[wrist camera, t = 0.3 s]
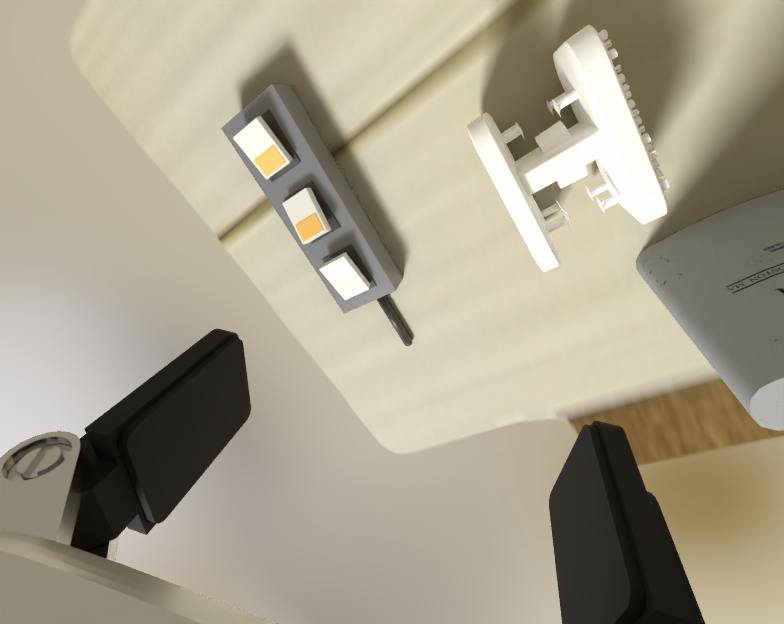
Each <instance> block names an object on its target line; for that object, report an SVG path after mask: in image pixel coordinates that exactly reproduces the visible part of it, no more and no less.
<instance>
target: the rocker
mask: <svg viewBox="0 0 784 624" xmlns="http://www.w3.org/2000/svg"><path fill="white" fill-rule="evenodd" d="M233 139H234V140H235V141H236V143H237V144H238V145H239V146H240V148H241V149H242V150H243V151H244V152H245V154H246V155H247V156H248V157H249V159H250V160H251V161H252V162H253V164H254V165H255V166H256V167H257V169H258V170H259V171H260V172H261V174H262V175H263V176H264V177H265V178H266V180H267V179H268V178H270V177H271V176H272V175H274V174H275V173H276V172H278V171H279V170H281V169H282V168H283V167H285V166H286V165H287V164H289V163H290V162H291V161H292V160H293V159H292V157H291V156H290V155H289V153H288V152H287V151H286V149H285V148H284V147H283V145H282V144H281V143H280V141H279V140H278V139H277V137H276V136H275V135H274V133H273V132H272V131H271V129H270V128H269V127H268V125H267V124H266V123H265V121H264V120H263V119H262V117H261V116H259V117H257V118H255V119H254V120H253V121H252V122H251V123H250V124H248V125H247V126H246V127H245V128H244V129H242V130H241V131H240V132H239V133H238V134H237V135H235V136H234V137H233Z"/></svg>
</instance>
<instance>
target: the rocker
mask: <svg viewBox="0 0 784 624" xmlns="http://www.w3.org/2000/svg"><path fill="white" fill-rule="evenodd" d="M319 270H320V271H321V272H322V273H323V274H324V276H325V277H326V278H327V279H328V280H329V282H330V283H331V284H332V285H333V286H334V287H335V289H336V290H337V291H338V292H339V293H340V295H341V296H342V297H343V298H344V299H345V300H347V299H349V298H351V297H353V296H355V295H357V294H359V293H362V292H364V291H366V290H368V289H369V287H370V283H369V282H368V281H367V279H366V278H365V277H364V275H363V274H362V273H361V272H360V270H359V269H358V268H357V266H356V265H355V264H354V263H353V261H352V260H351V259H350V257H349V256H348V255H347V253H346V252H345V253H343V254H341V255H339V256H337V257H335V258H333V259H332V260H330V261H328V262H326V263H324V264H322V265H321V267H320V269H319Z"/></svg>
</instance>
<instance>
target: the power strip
mask: <svg viewBox="0 0 784 624" xmlns="http://www.w3.org/2000/svg"><path fill="white" fill-rule="evenodd" d="M259 116H261V117H262V119H263V120H264V121H265V123H266V124H267V125H268V127H269V128H270V129H271V131H272V132H273V133H274V135H275V136H276V137H277V139H278V140H279V141H280V143H281V144H282V145H283V147H284V148H285V149H286V151H287V152H288V153H289V155H290V156H291V157H292V159H293V160H292V161H291V162H290V163H289V164H287V165H286V166H285V167H283V168H282V169H281V170H279V171H278V172H276V173H275V174H274V175H272V176H271V177H270V178H268V179H267V180H266V178H265V177H264V176H263V175H262V174H261V172H260V171H259V170H258V169H257V167H256V166H255V165H254V164H253V162H252V161H251V160H250V159H249V157H248V156H247V155H246V154H245V152H244V151H243V150H242V149H241V148H240V146H239V145H238V144H237V143H236V141H235V140H234V139H233V137H234V136H235V135H237V134H238V133H239V132H240V131H241V130H242V129H244V128H245V127H246V126H247V125H248V124H250V123H251V122H252V121H253V120H254V119H255V118H257V117H259ZM221 129H222V130H223V132H224V133H225V135H226V136H227V138H228V139H229V141H230V142H231V144H232V145H233V147H234V148H235V150H236V151H237V153H238V154H239V156H240V157H241V159H242V160H243V162H244V163H245V165H246V166H247V168H248V169H249V171H250V172H251V174H252V175H253V177H254V178H255V180H256V181H257V183H258V184H259V186H260V187H261V189H262V190H263V192H264V193H265V195H266V196H267V198H268V199H269V201H270V202H271V204H272V205H273V207H274V208H275V210H276V212H277V213H278V215H279V216H280V218H281V219H282V221H283V222H284V224H285V225H286V227H287V228H288V230H289V231H290V233H291V234H292V236H293V237H294V239H295V240H296V242H297V243H298V245H299V246H300V248H301V249H302V251H303V252H304V254H305V255H306V257H307V258H308V260H309V261H310V263H311V264H312V266H313V267H314V269H315V270H316V272H317V273H318V275H319V276H320V278H321V279H322V281H323V282H324V284H325V285H326V287H327V288H328V290H329V292H330V293H331V295H332V296H333V298H334V299H335V301H336V302H337V304H338V305H339V307H340V308H341V310H342V311H343V313H347V312H349V311H351V310H353V309H356V308H358V307H360V306H362V305H365V304H367V303H369V302H371V301H374V300H376V299H377V301H378V302H379V304H380V306H381V307H382V309H383V310H384V312H385V314H386V315H387V317H388V319H389V320H390V322H391V323H392V325H393V327H394V328H395V330H396V331H397V333H398V335H399V336H400V338H401V339H402V341H403V343H404V344H405V345H406V346H410V345H411V344H412V339H411V338H410V336H409V334H408V333H407V331H406V329H405V328H404V326H403V324H402V323H401V321H400V320H399V318H398V316H397V315H396V313H395V311H394V310H393V308H392V306H391V305H390V303H389V302H388V300H387V298H386V297H385V295H387V294H389V293H392V292H394V291H396V289H397V288H398V286H399V284H400V282H401V281H402V279H403V276H402V275H401V273H400V271H399V269H398V268H397V266H396V264H395V263H394V261H393V259H392V257H391V256H390V254H389V252H388V251H387V249H386V247H385V245H384V244H383V242H382V240H381V239H380V237H379V235H378V234H377V232H376V230H375V228H374V227H373V225H372V223H371V222H370V220H369V218H368V216H367V215H366V213H365V211H364V210H363V208H362V206H361V204H360V203H359V201H358V199H357V198H356V196H355V194H354V192H353V191H352V189H351V187H350V186H349V184H348V182H347V180H346V179H345V177H344V175H343V174H342V172H341V170H340V168H339V167H338V165H337V163H336V162H335V160H334V158H333V156H332V155H331V153H330V151H329V150H328V148H327V146H326V144H325V143H324V141H323V139H322V138H321V136H320V134H319V132H318V131H317V129H316V127H315V126H314V124H313V122H312V120H311V119H310V117H309V115H308V114H307V112H306V110H305V108H304V107H303V105H302V103H301V102H300V100H299V98H298V96H297V95H296V93H295V91H294V90H293V88H292V86H291V85H283V84H271V85H270V86H268V87H267V88H266V89H265V90H264V91H263V92H262V93H261V94H259V95H258V96H257V97H256V98H255V99H254V100H253V101H252V102H250V103H249V104H248V105H247V106H246V107H245V108H244V109H243V110H241V111H240V112H239V113H238V114H237V115H236V116H235V117H234V118H232V119H231V120H230V121H229V122H228V123H227V124H226V125H225V126H223V127H222V128H221ZM305 188H311V189H312V191H313V193H314V195H315V197H316V200H317V202H318V204H319V206H320V208H321V210H322V212H323V214H324V216H325V218H326V220H327V222H328V224H329V226H330V228H331V230H330V231H328V232H327V233H325V234H323V235H321V236H320V237H318V238H316V239H315V240H313V241H311V242H309V243H308V244H302V242H301V240H300V238H299V236H298V234H297V232H296V230H295V228H294V226H293V224H292V222H291V220H290V218H289V216H288V214H287V212H286V210H285V208H284V206H283V204H282V203H284V202H285V201H287V200H288V199H290V198H291V197H293V196H294V195H296V194H297V193H299V192H300V191H302V190H303V189H305ZM345 252H346V253H347V255H348V256H349V257H350V259H351V260H352V261H353V263H354V264H355V265H356V266H357V268H358V269H359V270H360V272H361V273H362V274H363V275H364V277H365V278H366V279H367V281H368V282H369V283H370V287H369V289H368V290H366V291H364V292H362V293H359V294H357V295H355V296H353V297H351V298H349V299H347V300H345V299H344V298H343V297H342V296H341V295H340V293H339V292H338V291H337V290H336V289H335V287H334V286H333V285H332V284H331V283H330V282H329V280H328V279H327V278H326V277H325V276H324V274H323V273H322V272H321V271H320V270H319V269H320V267H321V265H322V264H324V263H326V262H328V261H330V260H332V259H333V258H335V257H337V256H339V255H341V254H343V253H345Z"/></svg>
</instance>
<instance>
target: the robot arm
mask: <svg viewBox="0 0 784 624" xmlns="http://www.w3.org/2000/svg"><path fill="white" fill-rule="evenodd" d="M250 411H251V404H250V396H249V389H248V380H247V372H246V364H245V357H244V348H243V342H242V340H240V339H239V337H238V335H237V334H236V333H233V332H229V331H225V330H221V329H214V330H212V331H211V332H210V333H209V334H207V335H206V336H204V337H203V338H202V339H201V340H199V341H198V342H197V343H195V344H194V345H193V346H192V347H190V348H189V349H188V350H186V351H185V352H184V353H182V354H181V355H180V356H178V357H177V358H176V359H175V360H173V361H172V362H171V363H169V364H168V365H167V366H165V367H164V368H163V369H162V370H160V371H159V372H158V373H156V374H155V375H154V376H153V377H151V378H150V379H149V380H147V381H146V382H145V383H143V384H142V385H141V386H139V387H138V388H137V389H136V390H134V391H133V392H132V393H130V394H129V395H128V396H126V397H125V398H124V399H123V400H121V401H120V402H119V403H117V404H116V405H115V406H114V407H112V408H111V409H110V410H108V411H107V412H106V413H104V414H103V415H102V416H100V417H99V418H98V419H97V420H95V421H94V422H93V423H91V424H90V425H89V426H87V427H86V428H85V431H86V434H85V435H84V436H83V437H82V438H80V439H79V438H78V437H77V436H76V435H75V434H72V433H70V432H62V431H57V432H50V433H45V434H42V435H38V436H35V437H32V438H30V439H28V440H26V441H24V442H21V443H20V444H18V445H17V446H15V447H14V448H12V449H10V450H9V451H8V452H7V453H5V454H4V455H3V456H2V457H1V458H0V624H277V623H275V622H272V621H270V620H267V619H265V618H262V617H259V616H257V615H254V614H252V613H249V612H246V611H244V610H241V609H239V608H236V607H233V606H231V605H228V604H226V603H223V602H220V601H217V600H215V599H212V598H210V597H207V596H204V595H202V594H199V593H196V592H194V591H191V590H188V589H186V588H183V587H181V586H178V585H175V584H173V583H170V582H167V581H165V580H162V579H159V578H157V577H154V576H151V575H149V574H146V573H144V572H141V571H138V570H136V569H133V568H130V567H128V566H125V565H122V564H120V563H117V562H115V559H116V552H117V544H118V536H119V534H121V532H122V531H123V530H124V529H125V528H126V527H128V528H129V529H132V530H135V531H138V532H140V533H143V534H146V535H147V534H148V533H149V531H150V530H151V529H152V528H153V527H154V526H155V524H156V523H161V522H162V521H164V520H165V519H166V518H167V517H168V515H169V514H170V513H171V512H172V510H174V508H175V507H176V506H177V505H178V503H179V502H180V501H181V500H182V498H183V497H184V496H185V495H186V494H187V492H188V491H189V490H190V489H191V487H192V486H193V485H194V484H195V483H196V481H197V480H198V479H199V478H200V476H201V475H202V474H203V473H204V472H205V470H206V469H207V468H208V467H209V466H210V464H211V463H212V462H213V460H214V459H215V458H216V457H217V456H218V455H219V453H220V452H221V451H222V450H223V448H224V447H225V446H226V445H227V443H228V442H229V441H230V440H231V439H232V438H233V436H234V435H235V434H236V433H237V431H238V430H239V429H240V428H241V427H242V425H243V424H244V423H245V422H246V420H247V419H248V417H249V415H250ZM549 509H550V517H551V518H550V519H551V527H552V536H553V545H554V554H555V563H556V572H557V580H558V590H559V598H560V607H561V617H562V624H705V622H704V619H703V617H702V614H701V612H700V609H699V606H698V604H697V601H696V599H695V596H694V594H693V591H692V589H691V586H690V584H689V581H688V578H687V576H686V574H685V571H684V568H683V565H682V563H681V560H680V558H679V555H678V552H677V550H676V547H675V545H674V542H673V539H672V537H671V534H670V532H669V529H668V527H667V524H666V522H665V519H664V516H663V514H662V511H661V509H660V506H659V504H658V502H657V500H656V498H655V497H654V496H653V495H652V494H651V493H650V492H647V491H646V488H645V486H644V483H643V480H642V477H641V475H640V472H639V469H638V467H637V464H636V461H635V458H634V456H633V453H632V450H631V448H630V445H629V442H628V439H627V437H626V434H625V432H624V430H623V428H622V427H620V426H616V425H612V424H608V423H603V422H599V421H594V422H593V423H592V424H591V426H590V425H584V426H583V428H582V430H581V432H580V434H579V436H578V438H577V440H576V442H575V444H574V446H573V448H572V450H571V452H570V454H569V456H568V458H567V460H566V463H565V465H564V467H563V469H562V471H561V473H560V475H559V477H558V479H557V481H556V483H555V485H554V487H553V489H552V491H551V494H550V499H549Z"/></svg>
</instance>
